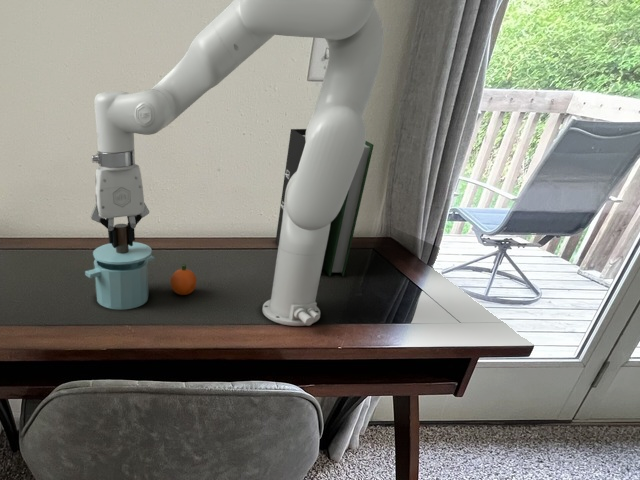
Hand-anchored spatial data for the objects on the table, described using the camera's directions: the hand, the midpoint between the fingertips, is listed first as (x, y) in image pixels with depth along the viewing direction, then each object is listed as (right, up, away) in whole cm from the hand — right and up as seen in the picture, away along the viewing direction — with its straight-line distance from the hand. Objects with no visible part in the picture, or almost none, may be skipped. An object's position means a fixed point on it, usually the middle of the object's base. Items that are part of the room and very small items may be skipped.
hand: (122, 244), depth 109 cm
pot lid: (0, -2, +1) cm, 2 cm away
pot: (0, -11, +7) cm, 14 cm away
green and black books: (+52, +3, +28) cm, 59 cm away
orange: (+15, -10, +9) cm, 20 cm away
